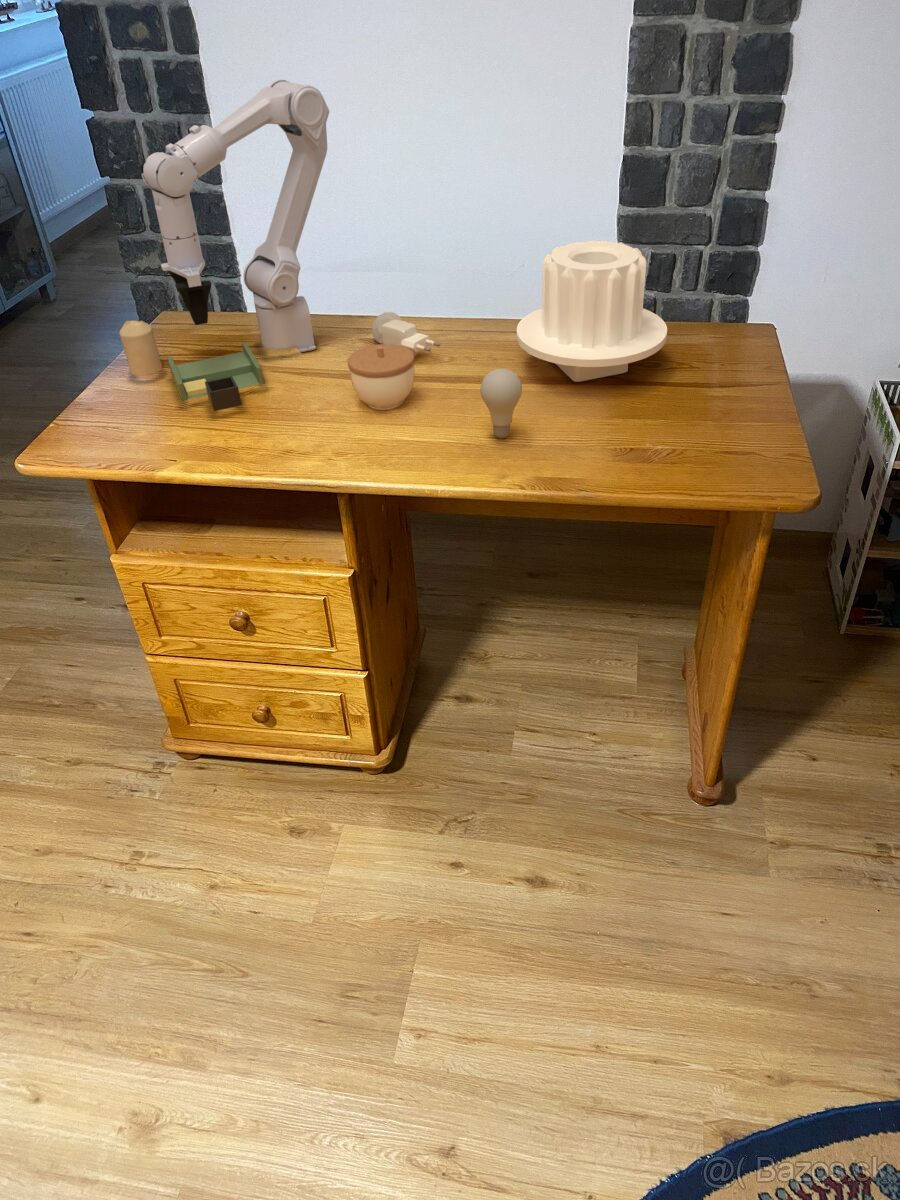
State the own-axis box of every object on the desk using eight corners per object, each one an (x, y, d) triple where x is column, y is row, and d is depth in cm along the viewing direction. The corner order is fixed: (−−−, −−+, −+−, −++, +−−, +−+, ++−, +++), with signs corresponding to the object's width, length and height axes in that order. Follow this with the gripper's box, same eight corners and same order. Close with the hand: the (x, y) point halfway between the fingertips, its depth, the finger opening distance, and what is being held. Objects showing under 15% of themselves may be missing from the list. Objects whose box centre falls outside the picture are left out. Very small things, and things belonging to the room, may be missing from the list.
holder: (237, 400, 153) (232, 375, 151) (243, 412, 150) (237, 386, 147) (210, 406, 152) (204, 381, 149) (215, 418, 149) (209, 392, 146)
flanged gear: (621, 328, 169) (629, 222, 157) (690, 382, 150) (705, 266, 138) (496, 351, 164) (494, 244, 152) (551, 410, 145) (553, 293, 133)
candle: (168, 369, 165) (154, 315, 159) (157, 382, 161) (142, 327, 154) (139, 369, 166) (124, 315, 159) (127, 382, 161) (112, 328, 155)
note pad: (206, 383, 156) (205, 378, 156) (210, 392, 153) (209, 387, 153) (184, 388, 155) (182, 382, 155) (187, 397, 152) (186, 391, 152)
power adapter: (445, 360, 162) (443, 329, 158) (427, 370, 159) (424, 338, 155) (398, 346, 168) (396, 315, 164) (380, 355, 165) (377, 324, 161)
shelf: (250, 364, 165) (246, 341, 162) (265, 390, 156) (261, 367, 153) (172, 380, 161) (167, 357, 159) (183, 407, 152) (177, 384, 150)
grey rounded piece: (409, 316, 172) (400, 307, 167) (410, 348, 171) (401, 341, 167) (378, 320, 173) (369, 311, 168) (379, 352, 173) (370, 344, 168)
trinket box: (428, 392, 152) (424, 339, 146) (399, 421, 145) (393, 365, 139) (372, 383, 156) (366, 330, 150) (341, 410, 149) (333, 356, 143)
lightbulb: (509, 451, 136) (509, 382, 129) (474, 441, 138) (472, 374, 131) (529, 433, 139) (529, 366, 133) (494, 424, 142) (493, 358, 135)
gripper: (148, 226, 152) (167, 306, 161) (161, 250, 142) (180, 334, 150) (191, 220, 154) (207, 299, 163) (206, 243, 143) (223, 327, 152)
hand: (197, 316), depth 156 cm, fingers open, 7 cm apart
